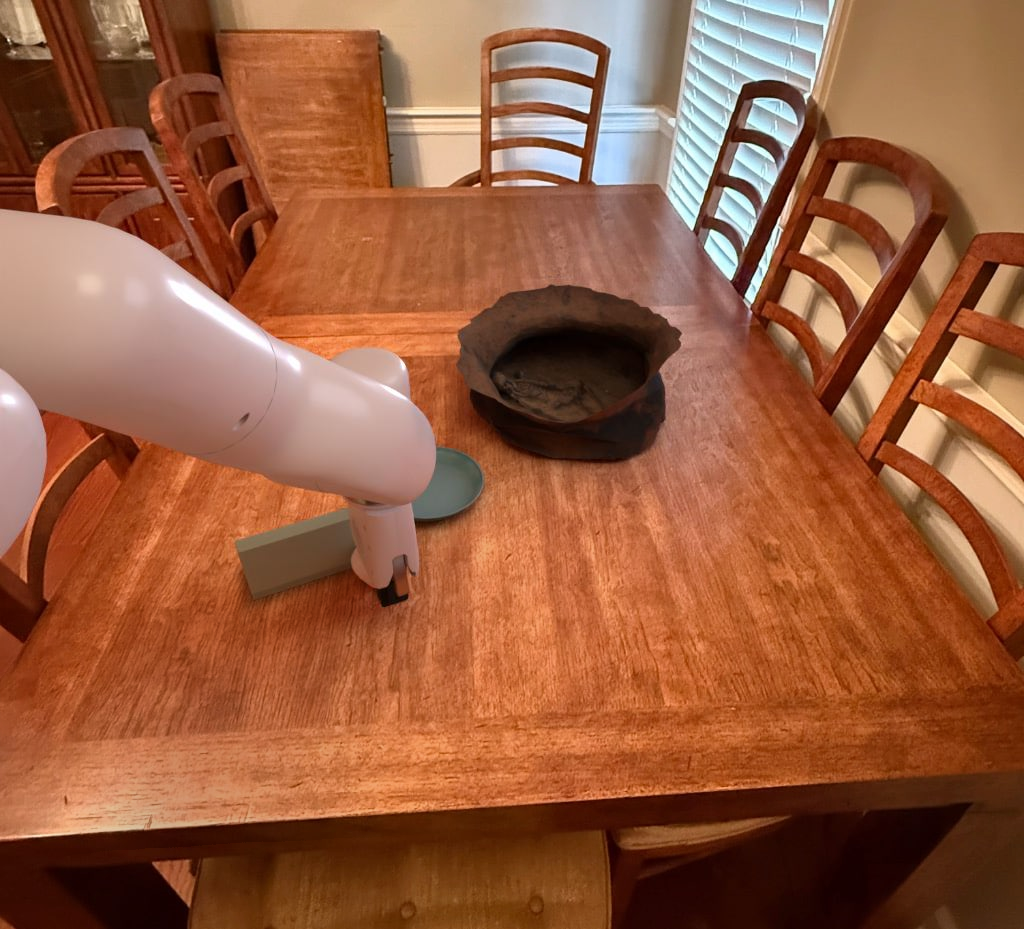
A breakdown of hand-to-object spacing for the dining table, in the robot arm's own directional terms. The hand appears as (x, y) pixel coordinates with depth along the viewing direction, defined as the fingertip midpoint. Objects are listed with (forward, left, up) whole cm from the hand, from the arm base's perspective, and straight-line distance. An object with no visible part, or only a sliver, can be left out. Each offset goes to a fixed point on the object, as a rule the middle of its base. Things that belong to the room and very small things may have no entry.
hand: (393, 598), depth 78 cm
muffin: (0, +5, -2) cm, 5 cm away
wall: (-5, +11, -2) cm, 12 cm away
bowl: (+37, +27, -2) cm, 45 cm away
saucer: (+11, +17, -2) cm, 20 cm away
